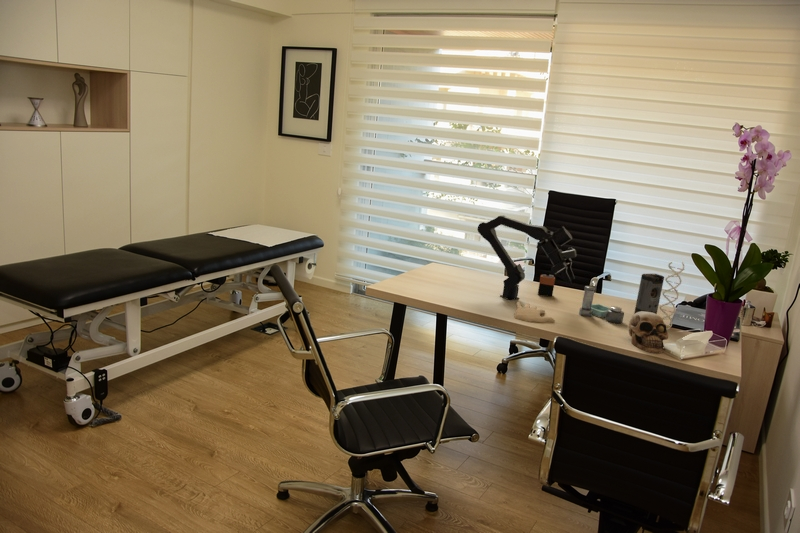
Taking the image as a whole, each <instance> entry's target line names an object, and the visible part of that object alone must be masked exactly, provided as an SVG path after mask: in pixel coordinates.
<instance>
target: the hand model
mask: <svg viewBox="0 0 800 533" xmlns="http://www.w3.org/2000/svg"><path fill="white" fill-rule="evenodd" d="M516 307H517V308H516V310H515V313H514V318H515V319H517V320H521V321H526V322H530V323H532V322H535V323H555V321H556V320H555V318H553V317H551V316H541V314H545V313H546V311H545V309H543V308H542V309H541V308H539V309H538V308H537V306H531V305H530V303H529V302H527V303H526V304H525V305H524V306H522V305H521V302H519V301H516Z"/></svg>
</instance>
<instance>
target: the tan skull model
mask: <svg viewBox="0 0 800 533" xmlns="http://www.w3.org/2000/svg"><path fill="white" fill-rule="evenodd" d="M662 318H663V317H662V316H660V314H659V315H658V313H657V314H655V313H652V312H645V311H641V312H637V313H635V314H634V313H633V315H632V316H631V317H630V319H629V323H628V333H629V336H630V337H631V339H630V340H631V345H633V346H635V347H637V348H638V349H640V350H642V351H644V352H649V353H651V354H662V353H664V350H663V347H664V348H665V344H664V341H666V340H668V339H669V332H668V330H667V326H666V325H667V324H666V323H665V322H664V320H663V319H662Z"/></svg>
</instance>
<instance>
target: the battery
mask: <svg viewBox="0 0 800 533" xmlns="http://www.w3.org/2000/svg"><path fill="white" fill-rule="evenodd" d="M554 275H555V274H549V275H547V274H543V273H542V274H540V278H539V282H538V283H539V284H538V290H537V295H538V296H544V297H548V298H549V297H550V298H552V297H553V294H554V288H555V281H556V277H555V276H554Z"/></svg>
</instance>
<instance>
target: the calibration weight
mask: <svg viewBox="0 0 800 533" xmlns="http://www.w3.org/2000/svg"><path fill="white" fill-rule="evenodd" d="M610 308H611V309H607V313H606V317H604V318H605V319H604V320H605V321H606V322H607V321H608V322H607V323H610V324H614V323H615V325H617V324H618V325H621V323H622V324H623V321H624V316H625V312H624V311H622V308H621V307H619V306H613V305H611V306H610Z"/></svg>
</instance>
